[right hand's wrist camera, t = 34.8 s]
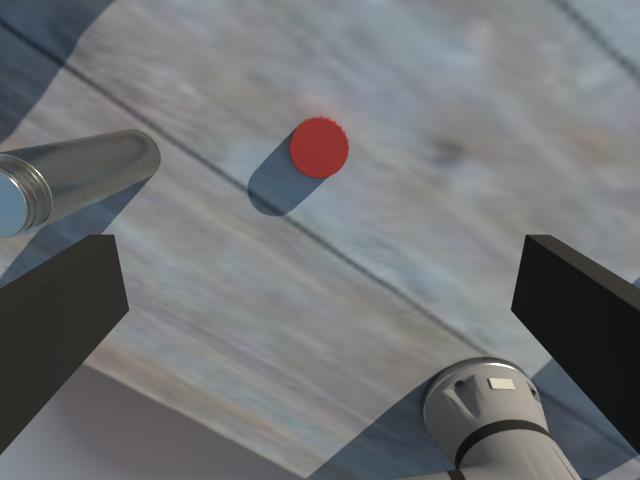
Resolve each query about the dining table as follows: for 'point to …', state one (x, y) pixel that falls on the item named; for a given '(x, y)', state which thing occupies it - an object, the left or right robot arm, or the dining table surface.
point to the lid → (319, 147)
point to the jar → (69, 177)
